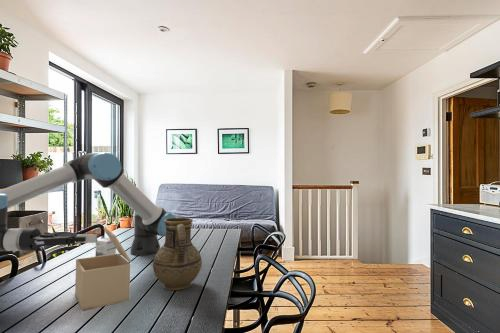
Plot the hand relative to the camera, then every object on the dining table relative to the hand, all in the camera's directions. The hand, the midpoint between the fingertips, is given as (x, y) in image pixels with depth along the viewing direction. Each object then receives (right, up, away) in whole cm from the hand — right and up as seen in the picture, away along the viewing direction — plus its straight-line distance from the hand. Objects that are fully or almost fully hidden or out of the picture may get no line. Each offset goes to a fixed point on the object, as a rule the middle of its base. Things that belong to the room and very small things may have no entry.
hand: (96, 238), depth 110 cm
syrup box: (-6, -20, +19) cm, 28 cm away
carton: (+4, -19, -4) cm, 20 cm away
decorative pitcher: (+27, -20, +6) cm, 34 cm away
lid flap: (+8, -2, -2) cm, 8 cm away
